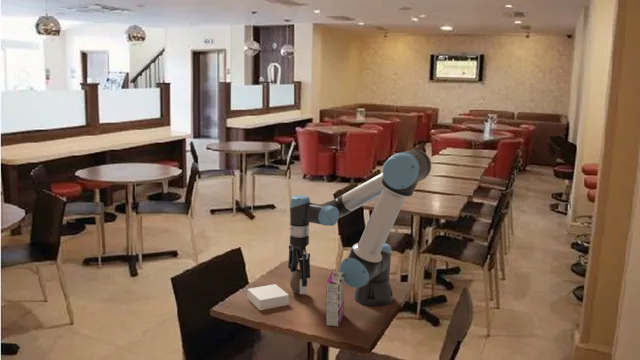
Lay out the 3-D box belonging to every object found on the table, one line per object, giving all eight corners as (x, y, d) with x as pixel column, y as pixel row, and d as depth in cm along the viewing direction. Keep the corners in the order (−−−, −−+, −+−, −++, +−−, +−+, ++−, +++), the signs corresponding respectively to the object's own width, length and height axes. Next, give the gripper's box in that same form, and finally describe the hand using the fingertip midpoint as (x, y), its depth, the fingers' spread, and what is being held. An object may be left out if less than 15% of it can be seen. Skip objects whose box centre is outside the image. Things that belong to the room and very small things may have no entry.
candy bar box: (330, 312, 215) (331, 270, 212) (344, 314, 214) (345, 272, 211) (324, 325, 204) (325, 281, 201) (338, 327, 203) (340, 283, 200)
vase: (309, 289, 233) (309, 268, 232) (304, 295, 227) (304, 274, 225) (293, 287, 235) (293, 266, 234) (287, 293, 229) (287, 272, 227)
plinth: (288, 304, 221) (288, 294, 220) (259, 310, 215) (259, 300, 214) (275, 293, 231) (275, 284, 230) (247, 298, 225) (247, 288, 224)
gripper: (279, 229, 233) (279, 283, 237) (302, 242, 216) (301, 300, 221) (296, 227, 237) (295, 280, 241) (320, 240, 220) (319, 297, 224)
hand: (298, 290), depth 231 cm, fingers closed on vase, 7 cm apart
